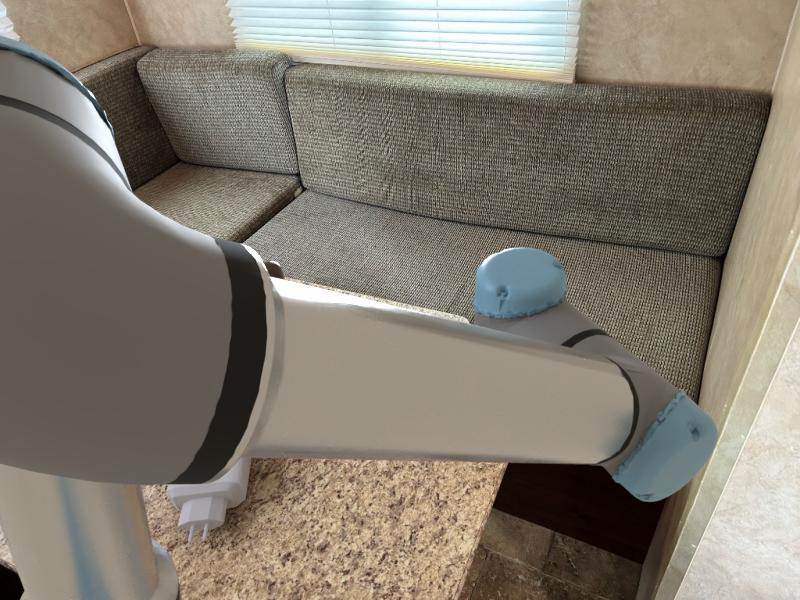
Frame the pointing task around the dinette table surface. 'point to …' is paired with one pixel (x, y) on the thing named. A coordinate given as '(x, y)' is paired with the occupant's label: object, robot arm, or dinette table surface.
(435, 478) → the dinette table surface
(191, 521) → the charger
